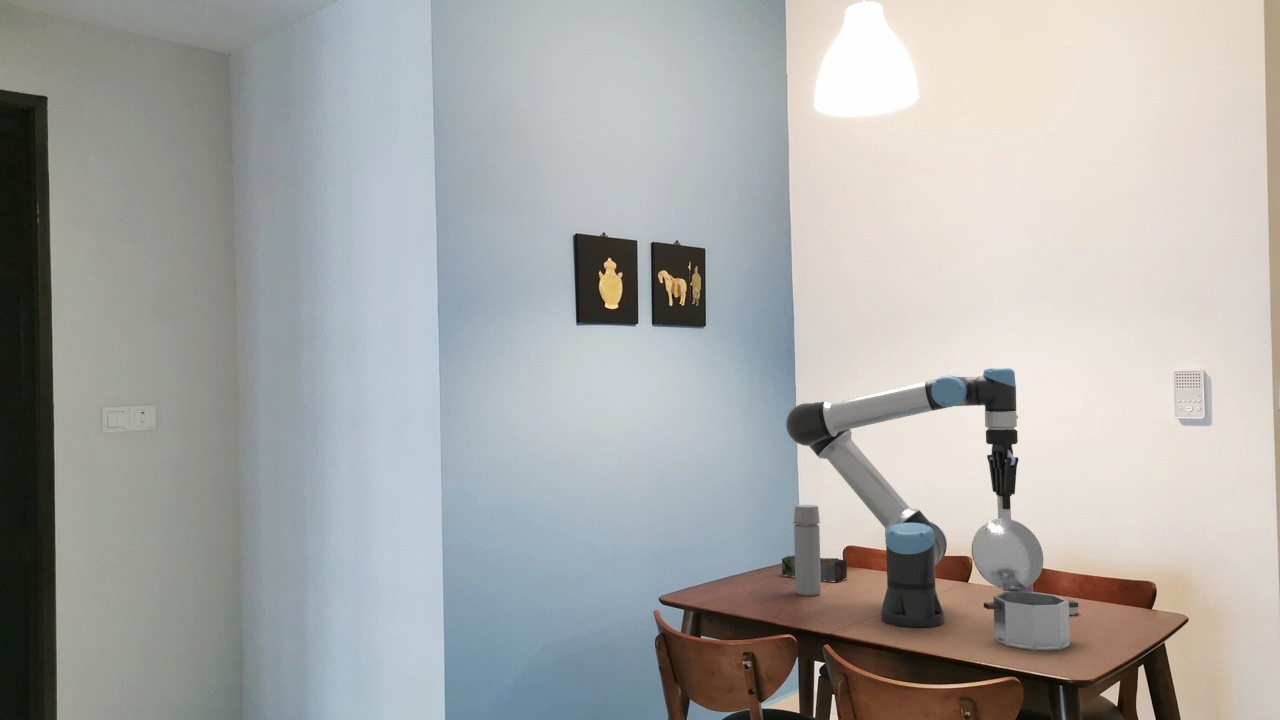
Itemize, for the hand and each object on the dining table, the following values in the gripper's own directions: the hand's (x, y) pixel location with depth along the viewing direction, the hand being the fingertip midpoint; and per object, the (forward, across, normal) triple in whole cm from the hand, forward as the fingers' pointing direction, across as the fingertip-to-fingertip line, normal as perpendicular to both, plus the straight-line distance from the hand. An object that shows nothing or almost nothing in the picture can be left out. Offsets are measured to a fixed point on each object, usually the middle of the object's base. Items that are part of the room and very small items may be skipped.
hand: (1004, 521), depth 230 cm
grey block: (+24, +4, -15) cm, 29 cm away
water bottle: (+24, +33, +44) cm, 60 cm away
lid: (+6, -12, +5) cm, 15 cm away
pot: (+24, -23, +5) cm, 33 cm away
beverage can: (+24, +12, -9) cm, 29 cm away
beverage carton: (+24, +56, +36) cm, 71 cm away
